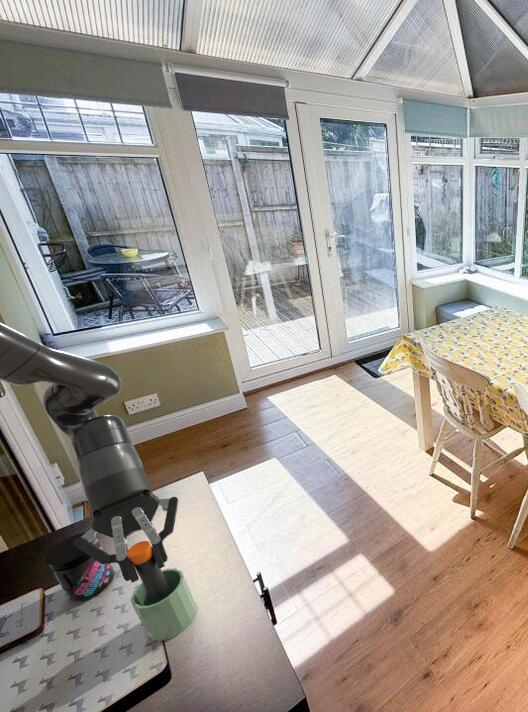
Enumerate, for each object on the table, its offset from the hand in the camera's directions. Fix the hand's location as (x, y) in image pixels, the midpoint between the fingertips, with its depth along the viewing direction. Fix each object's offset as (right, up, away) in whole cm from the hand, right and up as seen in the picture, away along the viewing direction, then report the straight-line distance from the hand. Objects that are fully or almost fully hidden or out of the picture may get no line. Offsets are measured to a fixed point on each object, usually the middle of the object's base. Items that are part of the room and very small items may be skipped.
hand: (148, 573), depth 67 cm
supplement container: (-22, -10, +13) cm, 27 cm away
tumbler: (-2, -13, +7) cm, 15 cm away
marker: (-2, -6, +4) cm, 7 cm away
